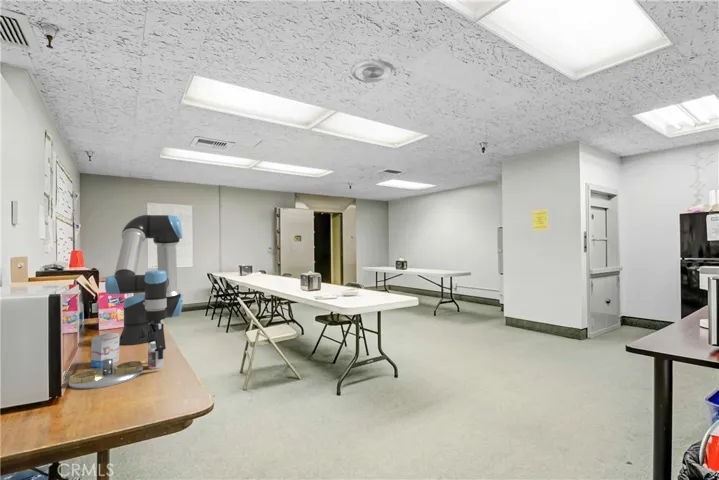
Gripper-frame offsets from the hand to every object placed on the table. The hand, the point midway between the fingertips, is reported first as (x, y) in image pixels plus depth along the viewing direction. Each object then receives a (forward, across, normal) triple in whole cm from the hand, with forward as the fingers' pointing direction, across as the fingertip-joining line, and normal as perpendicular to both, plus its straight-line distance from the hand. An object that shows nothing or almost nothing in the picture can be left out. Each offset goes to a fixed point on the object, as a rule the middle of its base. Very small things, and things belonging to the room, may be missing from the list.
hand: (155, 363), depth 138 cm
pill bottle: (+2, 0, 0) cm, 2 cm away
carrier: (+1, 0, -16) cm, 16 cm away
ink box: (+2, -19, -14) cm, 24 cm away
